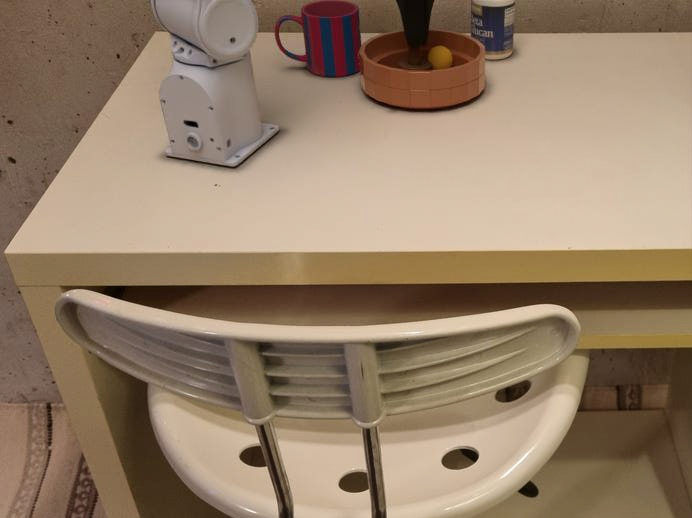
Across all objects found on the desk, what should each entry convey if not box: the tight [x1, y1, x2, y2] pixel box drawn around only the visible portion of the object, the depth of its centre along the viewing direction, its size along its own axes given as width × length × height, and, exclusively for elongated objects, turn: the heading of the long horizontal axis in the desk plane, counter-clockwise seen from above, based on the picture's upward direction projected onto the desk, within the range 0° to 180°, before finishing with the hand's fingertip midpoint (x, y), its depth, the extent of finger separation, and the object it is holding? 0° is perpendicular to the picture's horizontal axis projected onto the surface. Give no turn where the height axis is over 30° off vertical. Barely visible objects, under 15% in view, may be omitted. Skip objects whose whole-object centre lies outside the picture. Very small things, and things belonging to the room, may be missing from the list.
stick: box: [397, 45, 432, 71], centre depth 96 cm, size 4×4×9 cm
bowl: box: [359, 28, 486, 110], centre depth 97 cm, size 14×14×4 cm
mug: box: [274, 0, 362, 78], centre depth 101 cm, size 7×10×7 cm
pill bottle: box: [470, 0, 516, 61], centre depth 104 cm, size 5×5×10 cm
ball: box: [427, 46, 453, 70], centre depth 100 cm, size 3×3×3 cm
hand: (417, 41), depth 97 cm, fingers closed on stick, 2 cm apart
